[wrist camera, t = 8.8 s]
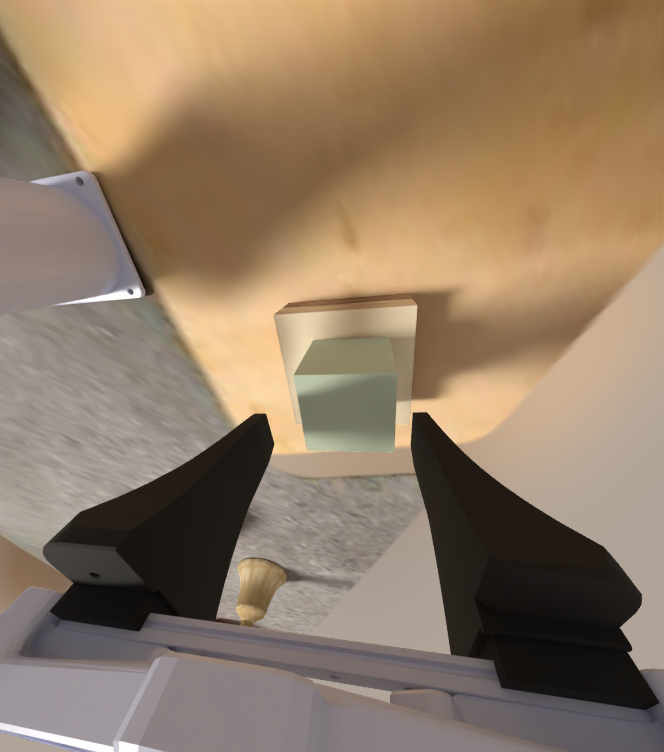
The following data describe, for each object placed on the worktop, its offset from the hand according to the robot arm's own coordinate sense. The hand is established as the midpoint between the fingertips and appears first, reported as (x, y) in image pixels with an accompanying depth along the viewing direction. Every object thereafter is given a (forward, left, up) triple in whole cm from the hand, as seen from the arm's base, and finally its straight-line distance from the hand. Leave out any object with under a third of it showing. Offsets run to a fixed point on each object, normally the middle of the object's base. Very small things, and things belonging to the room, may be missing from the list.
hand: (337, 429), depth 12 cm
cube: (0, 0, -6) cm, 6 cm away
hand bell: (-17, -38, -10) cm, 43 cm away
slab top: (0, 0, -8) cm, 8 cm away
